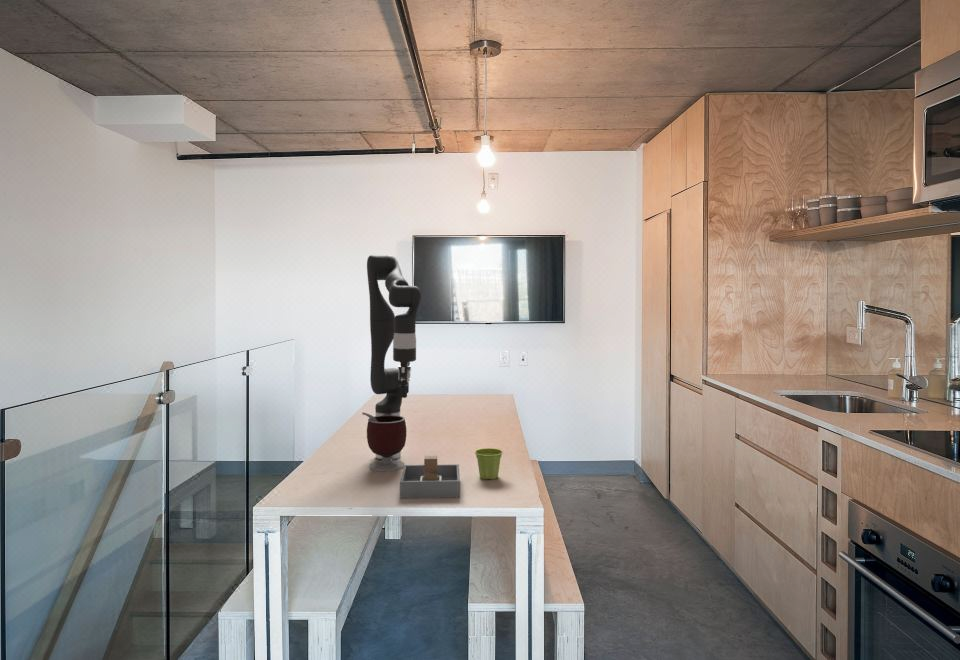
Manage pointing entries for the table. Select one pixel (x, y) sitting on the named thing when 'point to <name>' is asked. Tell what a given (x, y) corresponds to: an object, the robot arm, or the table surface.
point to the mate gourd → (386, 440)
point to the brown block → (430, 468)
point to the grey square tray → (430, 482)
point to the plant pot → (488, 462)
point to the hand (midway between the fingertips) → (404, 395)
